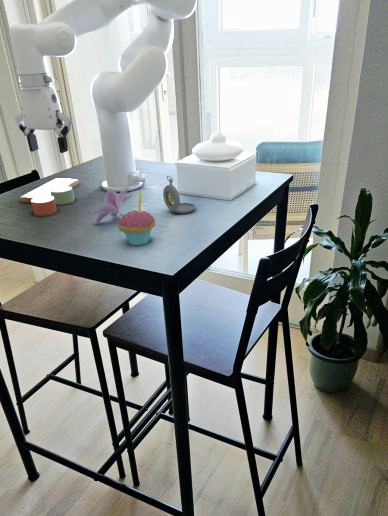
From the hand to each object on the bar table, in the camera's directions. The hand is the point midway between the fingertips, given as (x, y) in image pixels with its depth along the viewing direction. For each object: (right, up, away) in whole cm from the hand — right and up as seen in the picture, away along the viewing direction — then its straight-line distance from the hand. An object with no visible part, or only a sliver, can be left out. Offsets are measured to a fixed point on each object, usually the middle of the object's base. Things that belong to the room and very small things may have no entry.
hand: (49, 151), depth 133 cm
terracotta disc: (-1, -17, +1) cm, 17 cm away
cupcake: (+27, -30, -20) cm, 45 cm away
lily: (+20, -22, -9) cm, 31 cm away
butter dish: (+47, -6, +12) cm, 49 cm away
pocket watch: (+36, -18, -3) cm, 41 cm away
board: (-4, -7, +16) cm, 17 cm away
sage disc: (+2, -11, +8) cm, 14 cm away
